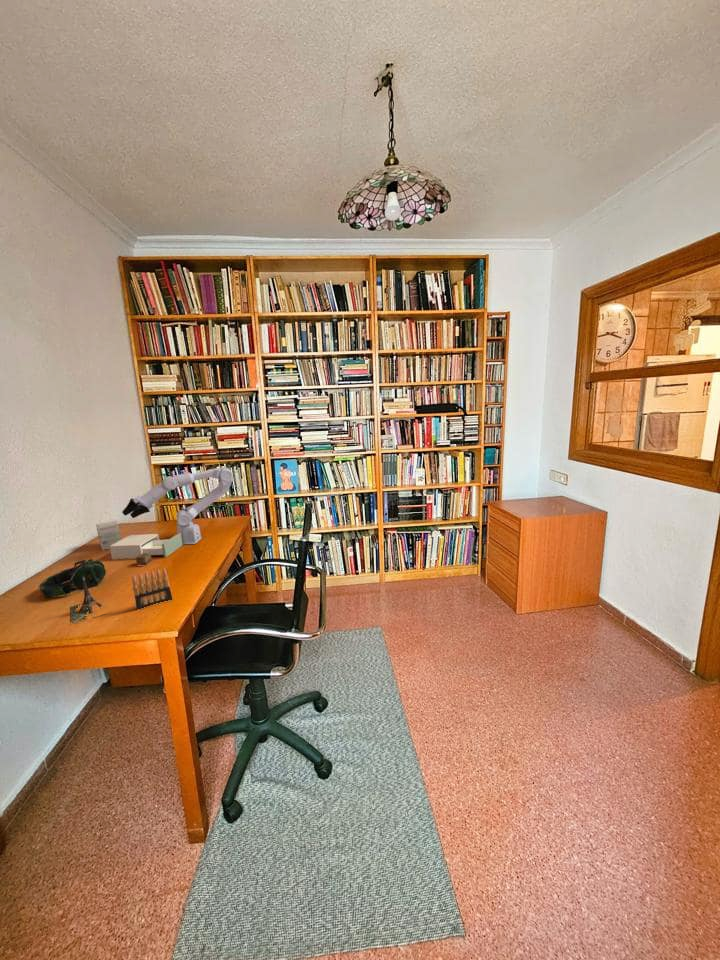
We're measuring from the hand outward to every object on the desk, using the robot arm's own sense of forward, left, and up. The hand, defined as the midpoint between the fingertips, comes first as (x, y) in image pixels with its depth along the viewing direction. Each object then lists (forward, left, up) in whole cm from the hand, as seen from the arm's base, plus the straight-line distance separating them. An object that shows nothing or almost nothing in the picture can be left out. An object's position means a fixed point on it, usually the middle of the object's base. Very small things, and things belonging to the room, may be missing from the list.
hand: (127, 515), depth 169 cm
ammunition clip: (-39, +47, -18) cm, 63 cm away
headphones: (+1, +34, -19) cm, 38 cm away
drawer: (-13, +1, -18) cm, 22 cm away
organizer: (-2, +1, -18) cm, 18 cm away
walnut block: (-14, +14, -18) cm, 26 cm away
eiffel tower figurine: (-17, +50, -19) cm, 56 cm away
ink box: (+18, -9, -18) cm, 28 cm away
